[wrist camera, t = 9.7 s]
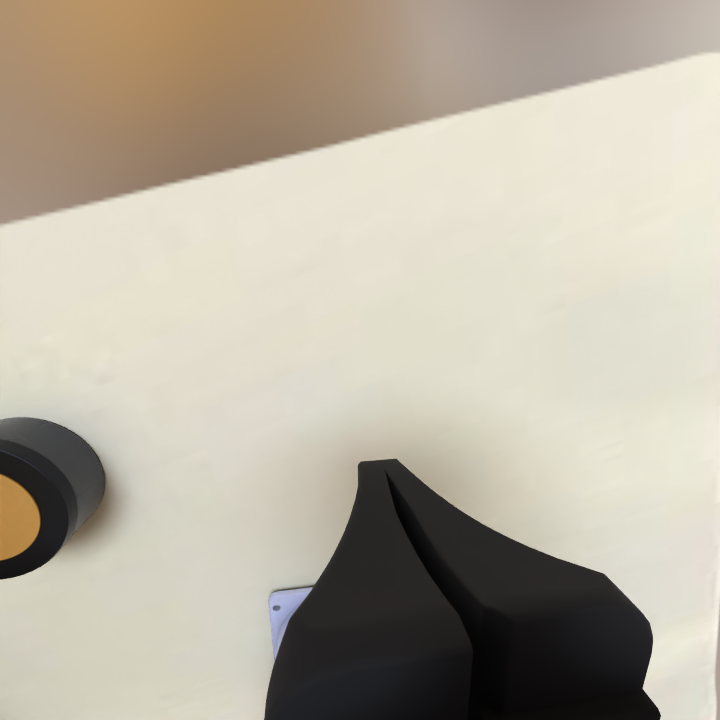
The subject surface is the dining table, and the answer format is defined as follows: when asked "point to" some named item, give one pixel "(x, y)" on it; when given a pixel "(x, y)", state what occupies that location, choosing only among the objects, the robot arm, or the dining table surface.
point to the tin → (43, 491)
